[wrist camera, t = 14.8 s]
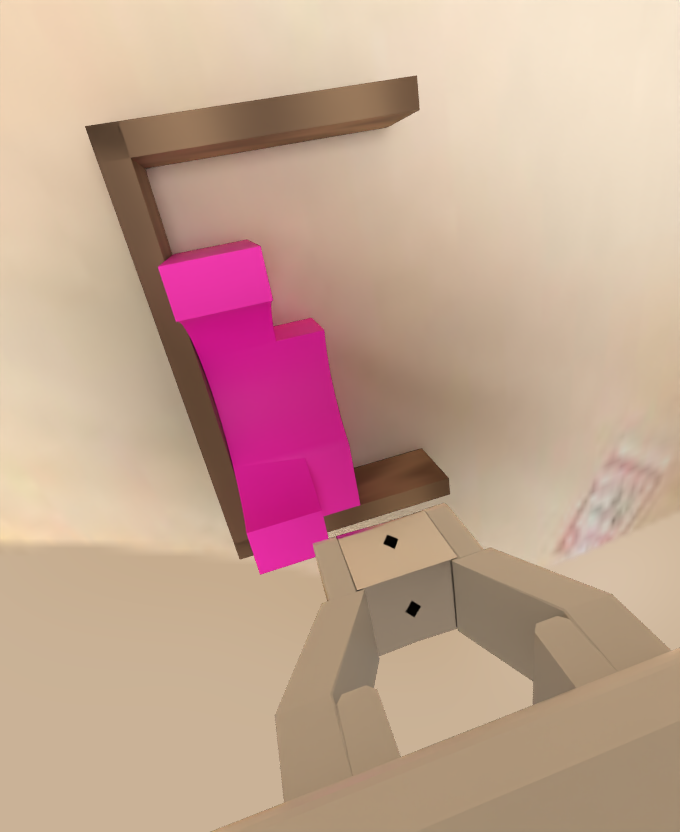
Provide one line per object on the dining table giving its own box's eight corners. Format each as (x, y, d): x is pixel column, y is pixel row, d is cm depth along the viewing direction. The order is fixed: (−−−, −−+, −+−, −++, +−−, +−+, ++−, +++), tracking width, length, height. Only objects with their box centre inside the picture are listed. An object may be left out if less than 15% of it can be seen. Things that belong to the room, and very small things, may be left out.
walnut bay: (384, 98, 22) (416, 75, 19) (423, 463, 31) (450, 494, 28) (107, 143, 20) (84, 126, 17) (236, 518, 29) (239, 559, 26)
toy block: (340, 467, 30) (377, 537, 24) (249, 494, 29) (260, 574, 23) (293, 230, 24) (325, 233, 17) (173, 253, 23) (157, 266, 16)
